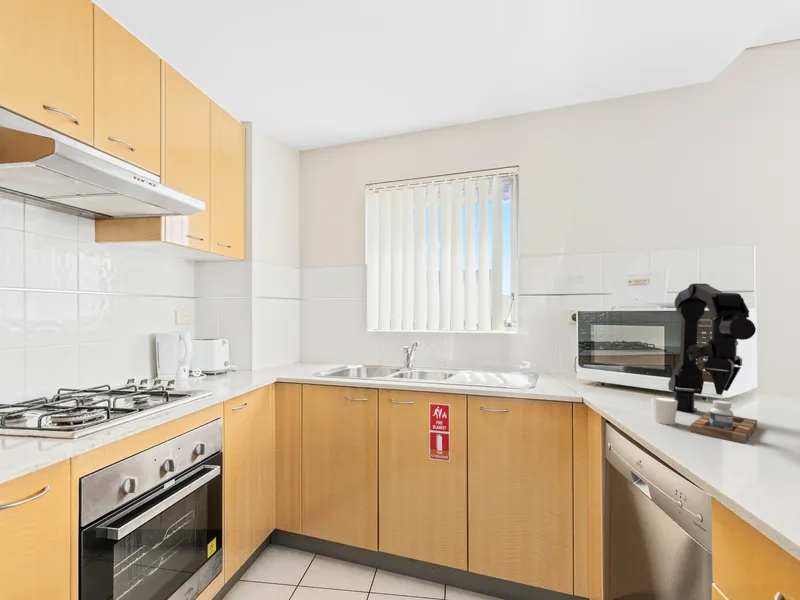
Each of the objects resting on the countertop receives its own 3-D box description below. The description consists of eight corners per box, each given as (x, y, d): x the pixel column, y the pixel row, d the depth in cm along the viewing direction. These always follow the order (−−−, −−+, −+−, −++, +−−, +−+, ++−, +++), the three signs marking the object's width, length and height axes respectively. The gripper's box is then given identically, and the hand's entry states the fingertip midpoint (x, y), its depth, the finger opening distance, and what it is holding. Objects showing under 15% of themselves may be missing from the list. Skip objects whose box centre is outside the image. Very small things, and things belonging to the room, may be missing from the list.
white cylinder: (651, 422, 127) (652, 399, 127) (650, 417, 133) (650, 395, 133) (678, 426, 124) (679, 402, 124) (675, 421, 130) (676, 398, 130)
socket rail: (708, 417, 135) (708, 410, 135) (757, 426, 126) (757, 419, 126) (690, 431, 119) (690, 423, 119) (744, 443, 110) (745, 434, 110)
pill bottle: (710, 429, 122) (711, 398, 122) (732, 433, 119) (733, 402, 119) (708, 433, 118) (709, 401, 118) (732, 437, 115) (733, 405, 115)
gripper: (697, 334, 131) (695, 384, 131) (681, 335, 118) (680, 391, 118) (743, 337, 123) (741, 390, 122) (731, 339, 110) (730, 398, 110)
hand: (722, 392), depth 118 cm, fingers open, 9 cm apart
